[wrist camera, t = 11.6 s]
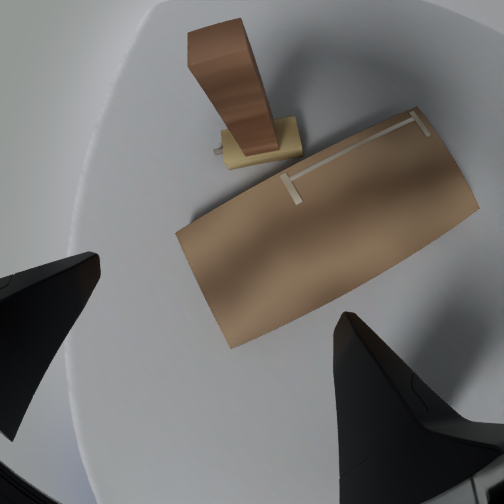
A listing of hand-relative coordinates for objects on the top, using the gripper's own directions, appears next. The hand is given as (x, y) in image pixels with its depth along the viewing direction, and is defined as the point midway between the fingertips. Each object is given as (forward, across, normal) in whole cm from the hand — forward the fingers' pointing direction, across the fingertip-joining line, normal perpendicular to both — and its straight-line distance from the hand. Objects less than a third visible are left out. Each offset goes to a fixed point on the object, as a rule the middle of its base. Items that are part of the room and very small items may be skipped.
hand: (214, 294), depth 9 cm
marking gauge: (+16, 0, -4) cm, 16 cm away
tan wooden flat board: (+12, -7, 0) cm, 14 cm away
